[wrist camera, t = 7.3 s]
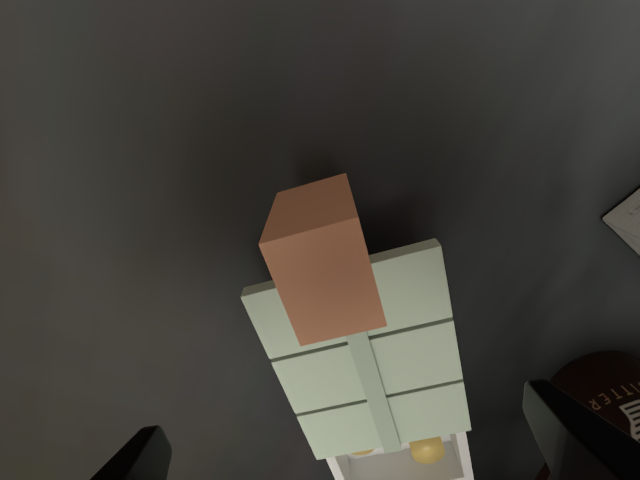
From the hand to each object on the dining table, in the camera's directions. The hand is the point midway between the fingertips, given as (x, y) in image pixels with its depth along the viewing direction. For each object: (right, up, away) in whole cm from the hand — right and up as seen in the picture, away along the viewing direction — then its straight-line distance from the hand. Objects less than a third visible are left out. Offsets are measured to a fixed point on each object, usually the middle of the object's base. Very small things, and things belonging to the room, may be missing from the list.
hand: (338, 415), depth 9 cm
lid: (+1, 0, +9) cm, 9 cm away
